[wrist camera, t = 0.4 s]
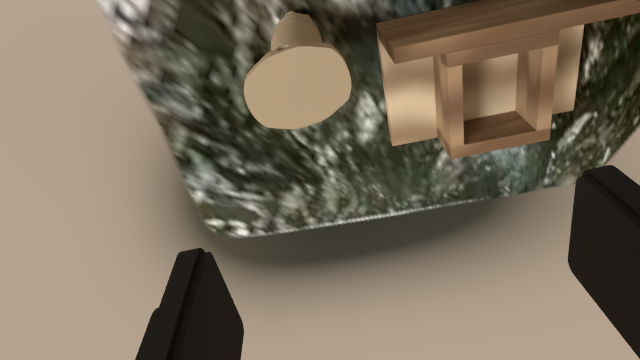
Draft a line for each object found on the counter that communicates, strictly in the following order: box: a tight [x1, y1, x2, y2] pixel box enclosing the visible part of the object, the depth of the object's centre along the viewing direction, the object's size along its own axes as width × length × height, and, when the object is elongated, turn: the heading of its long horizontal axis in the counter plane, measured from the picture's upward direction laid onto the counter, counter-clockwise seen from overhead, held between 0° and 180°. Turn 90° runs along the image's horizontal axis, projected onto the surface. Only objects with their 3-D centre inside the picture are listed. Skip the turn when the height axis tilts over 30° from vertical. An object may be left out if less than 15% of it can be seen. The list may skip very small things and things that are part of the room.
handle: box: [244, 11, 351, 129], centre depth 32 cm, size 5×6×15 cm
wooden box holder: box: [376, 0, 640, 159], centre depth 38 cm, size 12×18×8 cm, turn 101°
